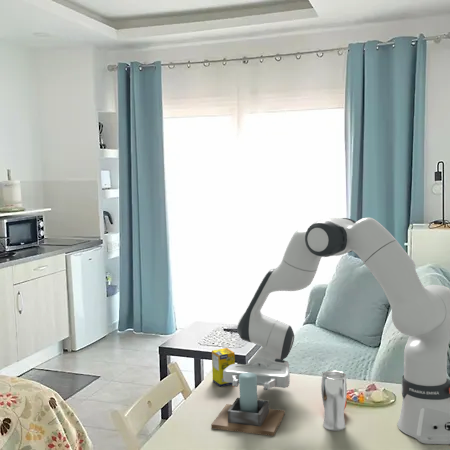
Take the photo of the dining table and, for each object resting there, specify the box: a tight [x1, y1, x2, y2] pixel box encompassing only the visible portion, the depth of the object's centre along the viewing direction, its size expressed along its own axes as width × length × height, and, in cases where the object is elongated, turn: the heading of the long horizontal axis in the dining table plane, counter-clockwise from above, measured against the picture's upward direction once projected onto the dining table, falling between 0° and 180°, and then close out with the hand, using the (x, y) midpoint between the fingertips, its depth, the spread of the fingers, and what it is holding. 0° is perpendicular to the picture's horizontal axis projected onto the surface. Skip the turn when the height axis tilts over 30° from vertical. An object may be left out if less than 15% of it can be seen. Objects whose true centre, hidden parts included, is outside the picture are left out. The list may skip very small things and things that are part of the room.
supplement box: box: [211, 347, 236, 387], centre depth 196 cm, size 6×6×11 cm
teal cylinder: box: [238, 372, 258, 413], centre depth 166 cm, size 5×5×12 cm
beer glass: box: [320, 369, 348, 432], centre depth 162 cm, size 7×7×15 cm
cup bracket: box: [210, 397, 286, 437], centre depth 167 cm, size 18×14×5 cm
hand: (250, 385), depth 169 cm, fingers open, 8 cm apart
